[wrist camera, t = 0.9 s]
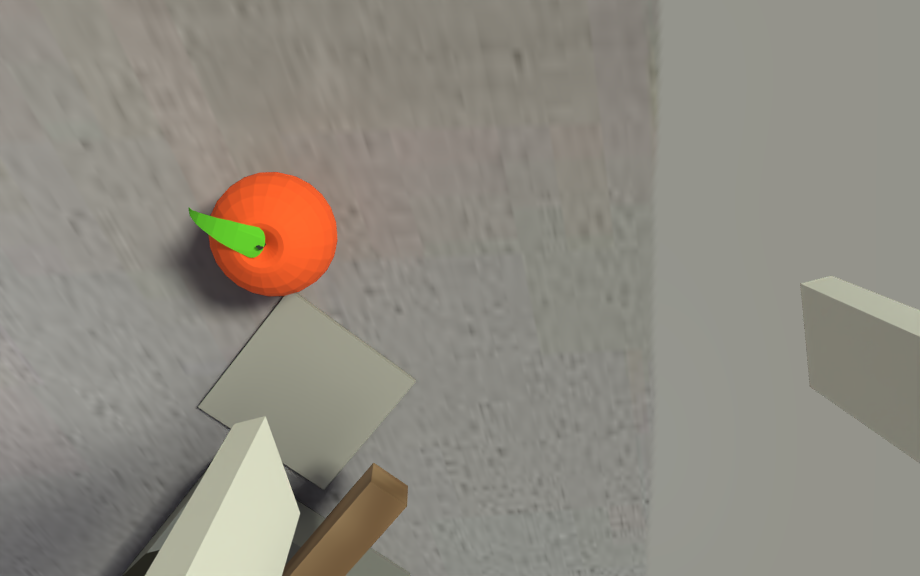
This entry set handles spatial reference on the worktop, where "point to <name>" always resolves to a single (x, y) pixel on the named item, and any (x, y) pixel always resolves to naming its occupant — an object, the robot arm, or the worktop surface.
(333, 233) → the clementine
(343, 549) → the brown wooden lever
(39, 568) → the worktop surface
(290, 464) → the mat
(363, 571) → the socket block
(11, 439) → the worktop surface
